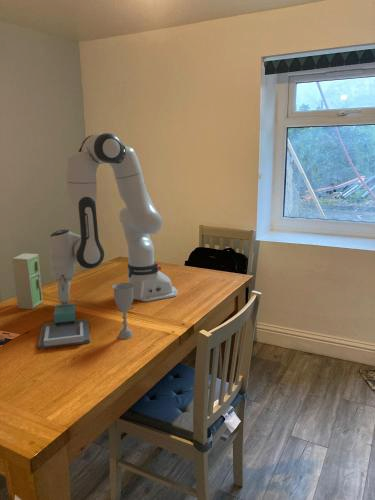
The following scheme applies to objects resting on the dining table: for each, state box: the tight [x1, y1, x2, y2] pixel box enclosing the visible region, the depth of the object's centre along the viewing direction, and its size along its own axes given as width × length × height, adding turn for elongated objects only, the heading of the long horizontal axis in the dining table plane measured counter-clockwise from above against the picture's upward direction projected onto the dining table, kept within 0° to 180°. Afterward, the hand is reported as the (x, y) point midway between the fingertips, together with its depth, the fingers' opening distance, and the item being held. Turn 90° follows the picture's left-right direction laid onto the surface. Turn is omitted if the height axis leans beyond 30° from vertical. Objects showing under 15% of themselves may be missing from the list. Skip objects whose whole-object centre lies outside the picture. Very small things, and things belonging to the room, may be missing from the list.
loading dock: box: [37, 318, 91, 350], centre depth 135 cm, size 16×21×4 cm
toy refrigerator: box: [12, 252, 44, 310], centre depth 157 cm, size 8×7×21 cm
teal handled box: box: [53, 302, 76, 325], centre depth 144 cm, size 7×10×5 cm
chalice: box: [112, 282, 134, 340], centre depth 131 cm, size 7×7×18 cm
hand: (65, 305), depth 155 cm, fingers open, 8 cm apart
